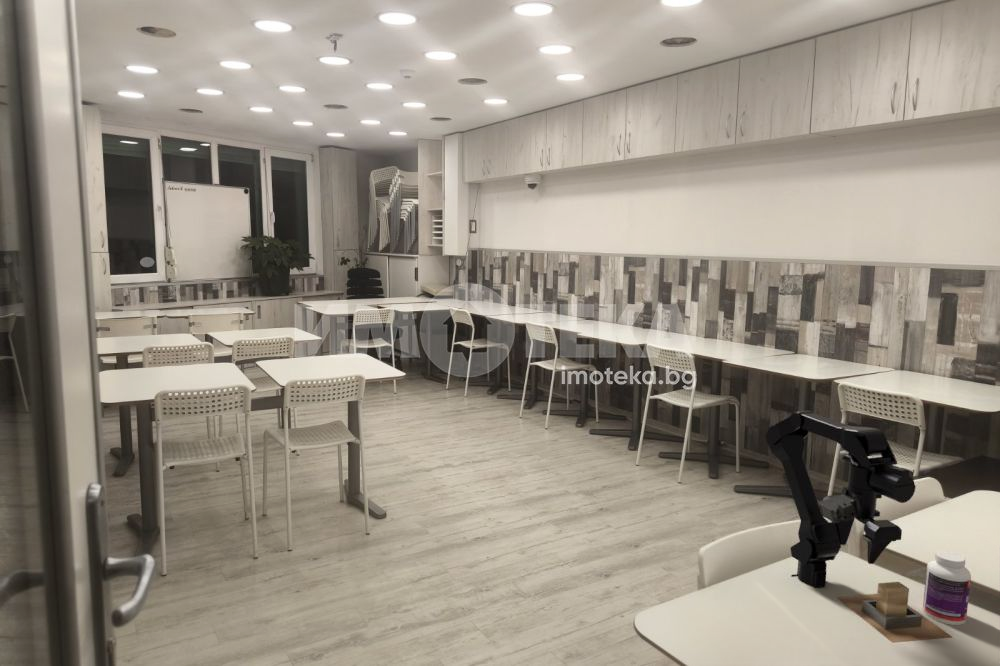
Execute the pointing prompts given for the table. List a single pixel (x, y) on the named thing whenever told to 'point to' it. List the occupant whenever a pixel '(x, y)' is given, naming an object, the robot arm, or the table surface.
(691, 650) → the table surface
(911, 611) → the tin
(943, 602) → the pill bottle
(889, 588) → the tan wooden brick
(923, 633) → the board
